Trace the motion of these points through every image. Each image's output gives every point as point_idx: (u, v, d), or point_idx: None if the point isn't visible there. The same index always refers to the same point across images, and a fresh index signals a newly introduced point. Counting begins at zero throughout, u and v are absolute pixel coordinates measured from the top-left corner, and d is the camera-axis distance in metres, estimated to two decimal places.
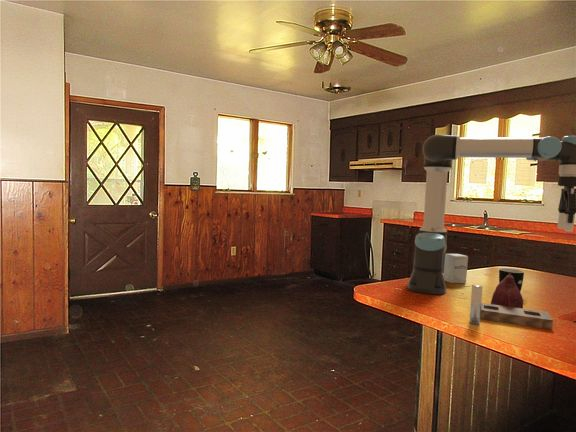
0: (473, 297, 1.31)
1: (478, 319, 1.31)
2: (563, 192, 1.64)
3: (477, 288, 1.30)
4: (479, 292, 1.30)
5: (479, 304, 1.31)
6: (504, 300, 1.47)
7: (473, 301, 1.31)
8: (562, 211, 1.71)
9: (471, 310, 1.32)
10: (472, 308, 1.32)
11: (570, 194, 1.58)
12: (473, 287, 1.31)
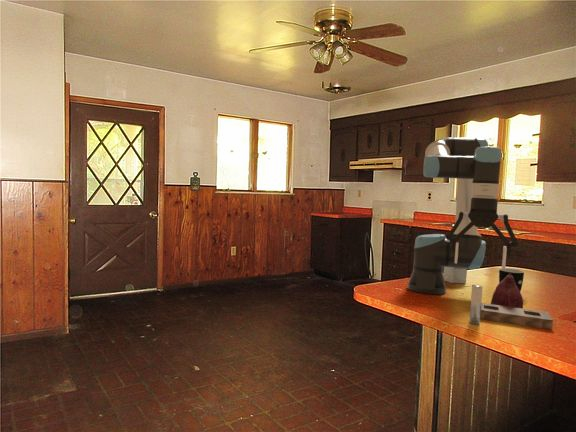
0: (473, 297, 1.31)
1: (478, 319, 1.31)
2: None
3: (477, 288, 1.30)
4: (479, 292, 1.30)
5: (479, 304, 1.31)
6: (504, 300, 1.47)
7: (473, 301, 1.31)
8: None
9: (471, 310, 1.32)
10: (472, 308, 1.32)
11: None
12: (473, 287, 1.31)
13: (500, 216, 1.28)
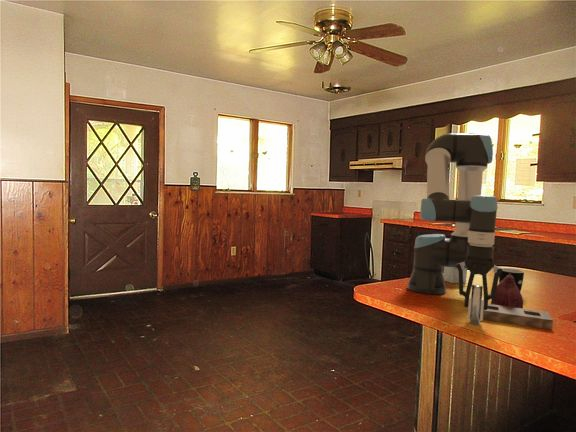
0: (473, 297, 1.31)
1: (478, 319, 1.31)
2: None
3: (477, 288, 1.31)
4: (479, 291, 1.30)
5: (479, 304, 1.31)
6: (504, 300, 1.47)
7: (473, 301, 1.31)
8: (484, 297, 1.31)
9: (471, 310, 1.32)
10: (472, 308, 1.32)
11: None
12: (473, 287, 1.31)
13: (495, 267, 1.29)
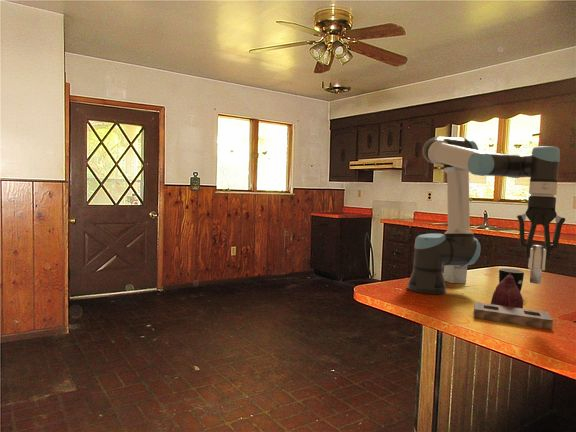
0: (534, 257, 1.33)
1: (539, 278, 1.33)
2: None
3: (538, 247, 1.33)
4: (540, 251, 1.33)
5: (540, 263, 1.33)
6: (504, 300, 1.47)
7: (534, 260, 1.34)
8: (545, 247, 1.33)
9: (532, 269, 1.34)
10: (533, 267, 1.34)
11: (519, 222, 1.36)
12: (534, 247, 1.34)
13: (558, 217, 1.31)
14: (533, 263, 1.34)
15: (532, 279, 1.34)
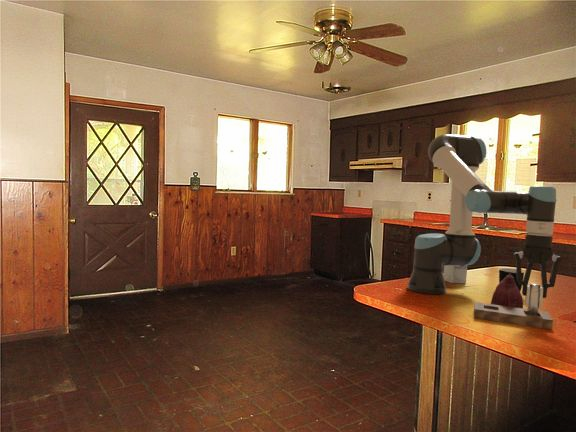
0: (531, 296, 1.34)
1: None
2: None
3: (535, 286, 1.34)
4: (537, 290, 1.34)
5: (537, 302, 1.34)
6: (504, 300, 1.47)
7: (531, 299, 1.34)
8: (542, 285, 1.34)
9: (529, 308, 1.35)
10: (530, 306, 1.35)
11: (516, 260, 1.37)
12: (531, 286, 1.35)
13: (554, 256, 1.32)
14: (530, 302, 1.35)
15: None
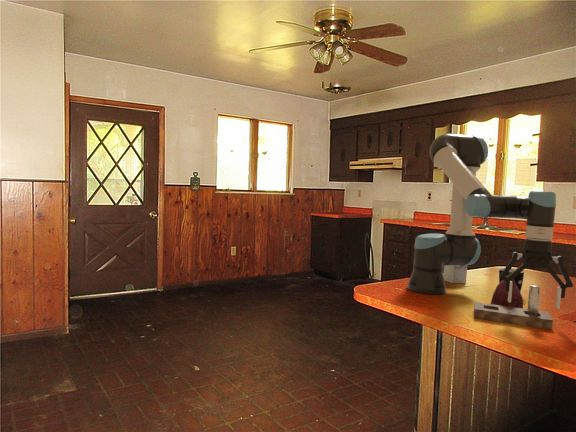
0: (531, 297, 1.34)
1: None
2: None
3: (535, 288, 1.34)
4: (537, 292, 1.34)
5: (537, 304, 1.34)
6: (504, 300, 1.47)
7: (531, 301, 1.34)
8: None
9: (529, 310, 1.35)
10: (530, 308, 1.35)
11: None
12: (531, 287, 1.35)
13: (554, 258, 1.32)
14: (530, 304, 1.35)
15: None
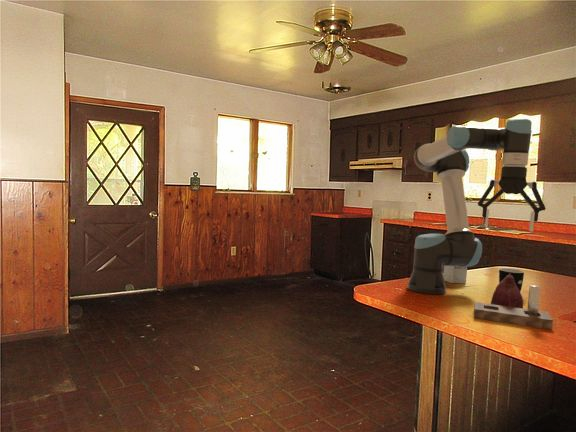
0: (531, 297, 1.34)
1: None
2: None
3: (535, 288, 1.34)
4: (537, 292, 1.34)
5: (537, 304, 1.34)
6: (504, 300, 1.47)
7: (531, 301, 1.34)
8: (534, 209, 1.39)
9: (529, 310, 1.35)
10: (530, 308, 1.35)
11: None
12: (531, 287, 1.35)
13: (529, 183, 1.39)
14: (530, 304, 1.35)
15: None
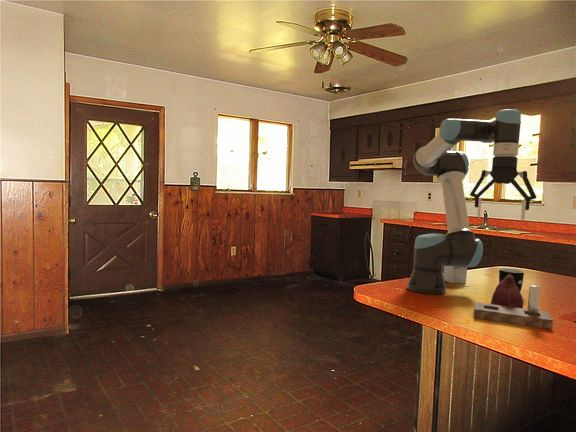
0: (531, 297, 1.34)
1: None
2: None
3: (535, 288, 1.34)
4: (537, 292, 1.34)
5: (537, 304, 1.34)
6: (504, 300, 1.47)
7: (531, 301, 1.34)
8: None
9: (529, 310, 1.35)
10: (530, 308, 1.35)
11: None
12: (531, 287, 1.35)
13: (520, 173, 1.41)
14: (530, 304, 1.35)
15: None
